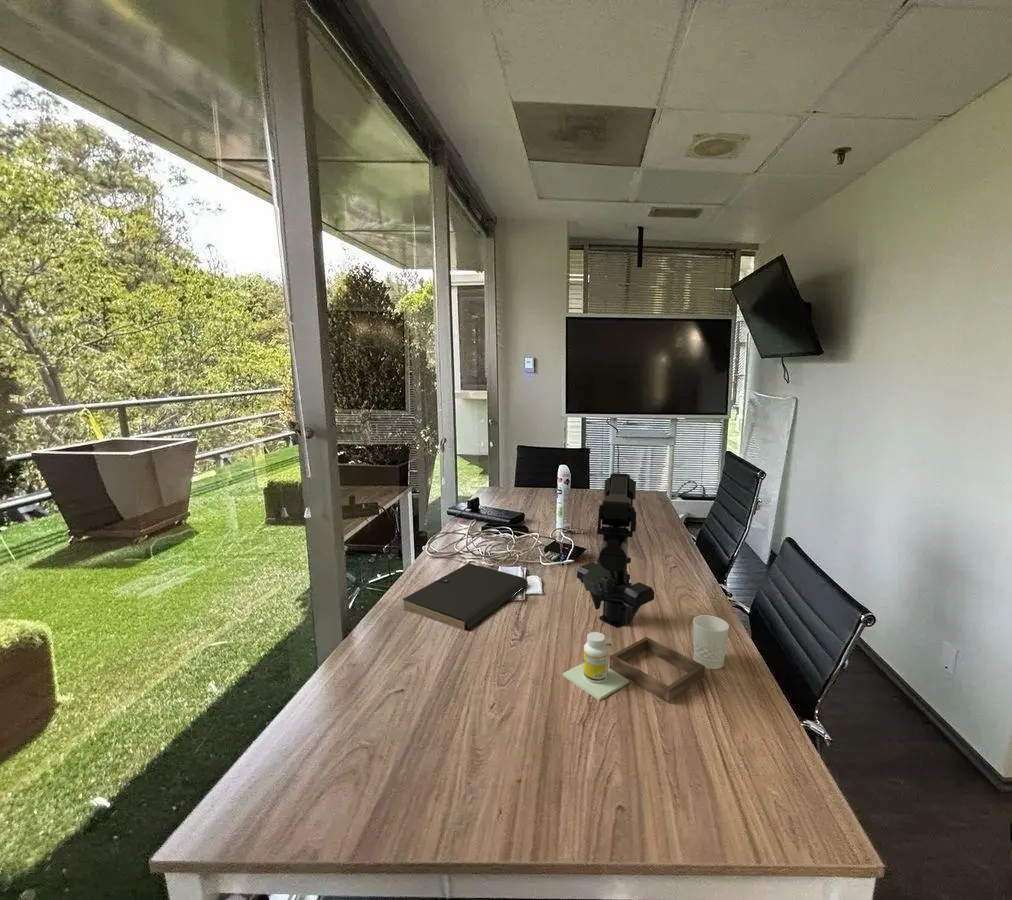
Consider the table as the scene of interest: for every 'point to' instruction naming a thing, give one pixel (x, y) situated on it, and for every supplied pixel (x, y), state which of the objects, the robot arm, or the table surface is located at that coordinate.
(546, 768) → the table surface
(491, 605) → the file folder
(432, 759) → the table surface
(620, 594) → the robot arm
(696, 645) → the white cup
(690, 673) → the wooden frame
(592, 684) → the sage tile
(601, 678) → the supplement bottle
